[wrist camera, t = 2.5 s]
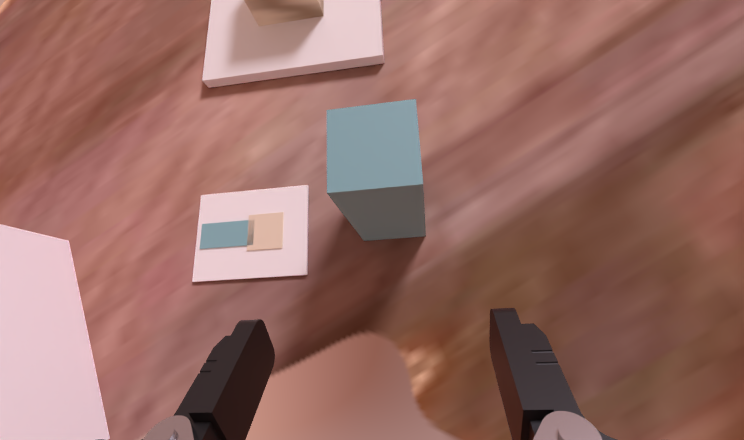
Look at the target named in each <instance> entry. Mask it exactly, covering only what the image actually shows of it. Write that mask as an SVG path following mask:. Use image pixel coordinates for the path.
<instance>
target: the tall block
mask: <svg viewBox="0 0 744 440" xmlns="http://www.w3.org/2000/svg"><path fill="white" fill-rule="evenodd" d="M327 194H328V195H329V196H330V198H331V199H332V200H333V202H334V203H335V204H336V205H337V207H338V208H339V209H340V211H341V212H342V213H343V214H344V216H345V217H346V218H347V220H348V221H349V222H350V224H351V225H352V226H353V227H354V229H355V230H356V231H357V233H358V234H359V235H360V237H361V238H362V239H363V240H364V241H369V240H383V239H396V238H410V237H424V236H426V233H425V213H424V193H423V177H422V166H421V154H420V142H419V130H418V119H417V107H416V99H412V100H404V101H396V102H388V103H380V104H372V105H364V106H356V107H348V108H340V109H332V110H327Z"/></svg>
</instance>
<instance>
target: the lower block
mask: <svg viewBox="0 0 744 440" xmlns="http://www.w3.org/2000/svg"><path fill="white" fill-rule="evenodd" d="M244 1H245V3H246V4H247V6H248V8H249V10H250V11H251V13H252V15H253V17H254V19H255V20H256V22H257V24H258V26H265V25H271V24H277V23H283V22H289V21H296V20H302V19H308V18H314V17H320V16H324V0H244Z"/></svg>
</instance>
